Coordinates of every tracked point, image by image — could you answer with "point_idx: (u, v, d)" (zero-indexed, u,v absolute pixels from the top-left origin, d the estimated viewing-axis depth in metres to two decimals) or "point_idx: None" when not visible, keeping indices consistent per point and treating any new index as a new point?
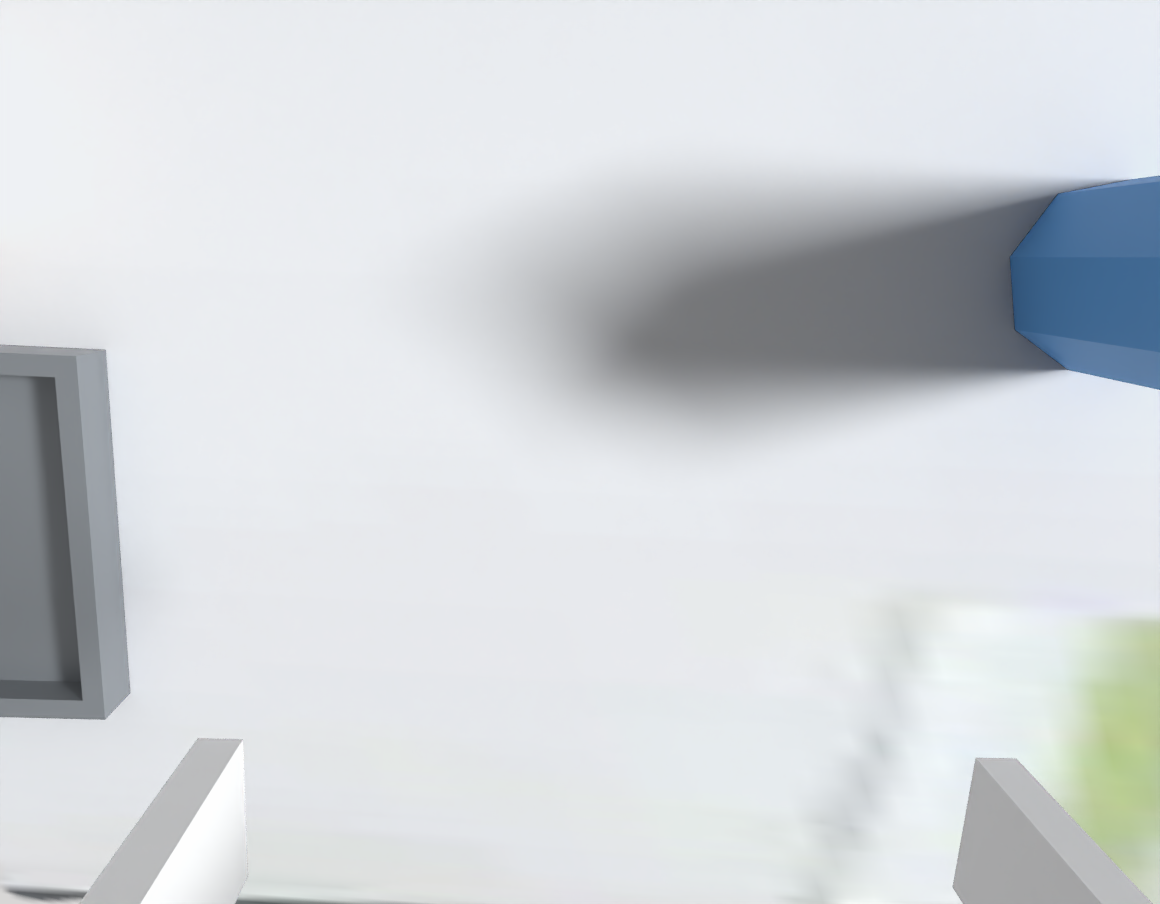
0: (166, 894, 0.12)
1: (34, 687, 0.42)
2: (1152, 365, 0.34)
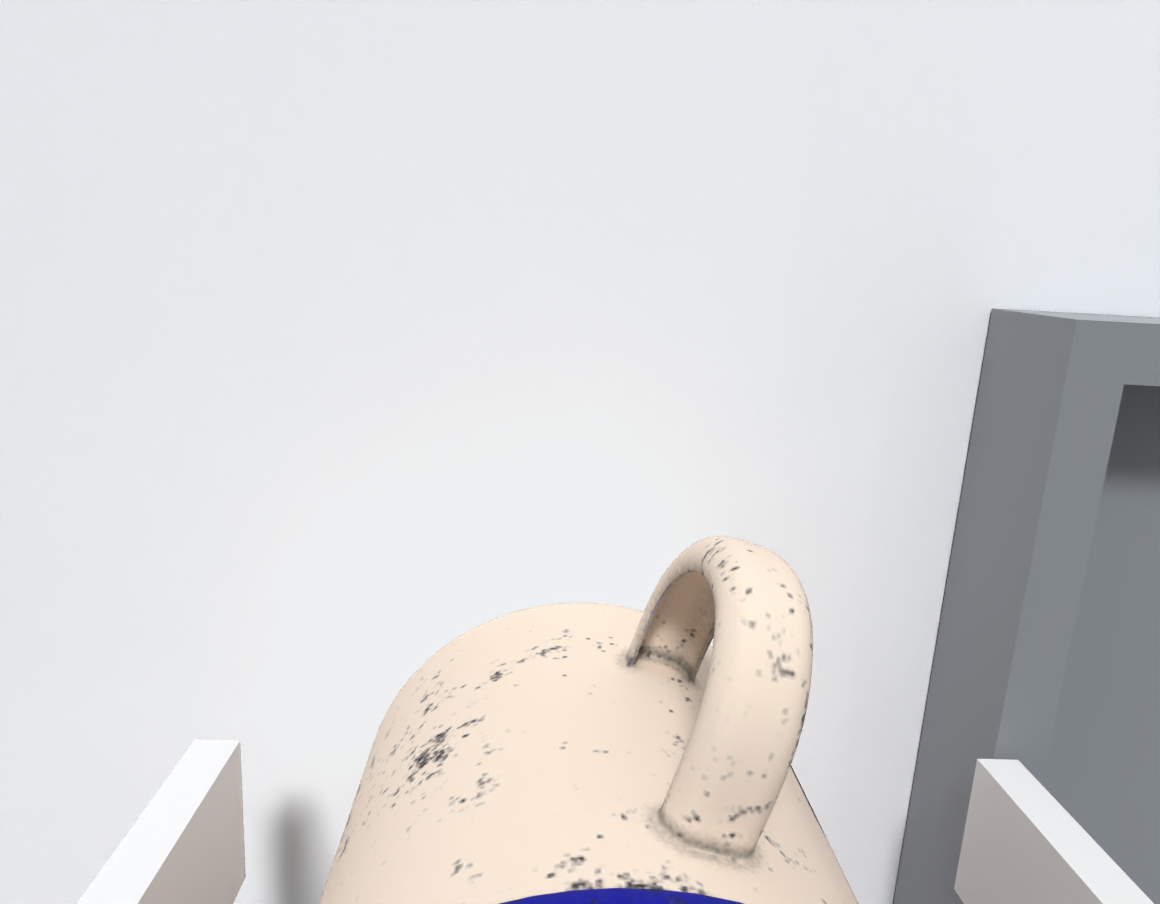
0: (162, 896, 0.12)
1: None
2: None
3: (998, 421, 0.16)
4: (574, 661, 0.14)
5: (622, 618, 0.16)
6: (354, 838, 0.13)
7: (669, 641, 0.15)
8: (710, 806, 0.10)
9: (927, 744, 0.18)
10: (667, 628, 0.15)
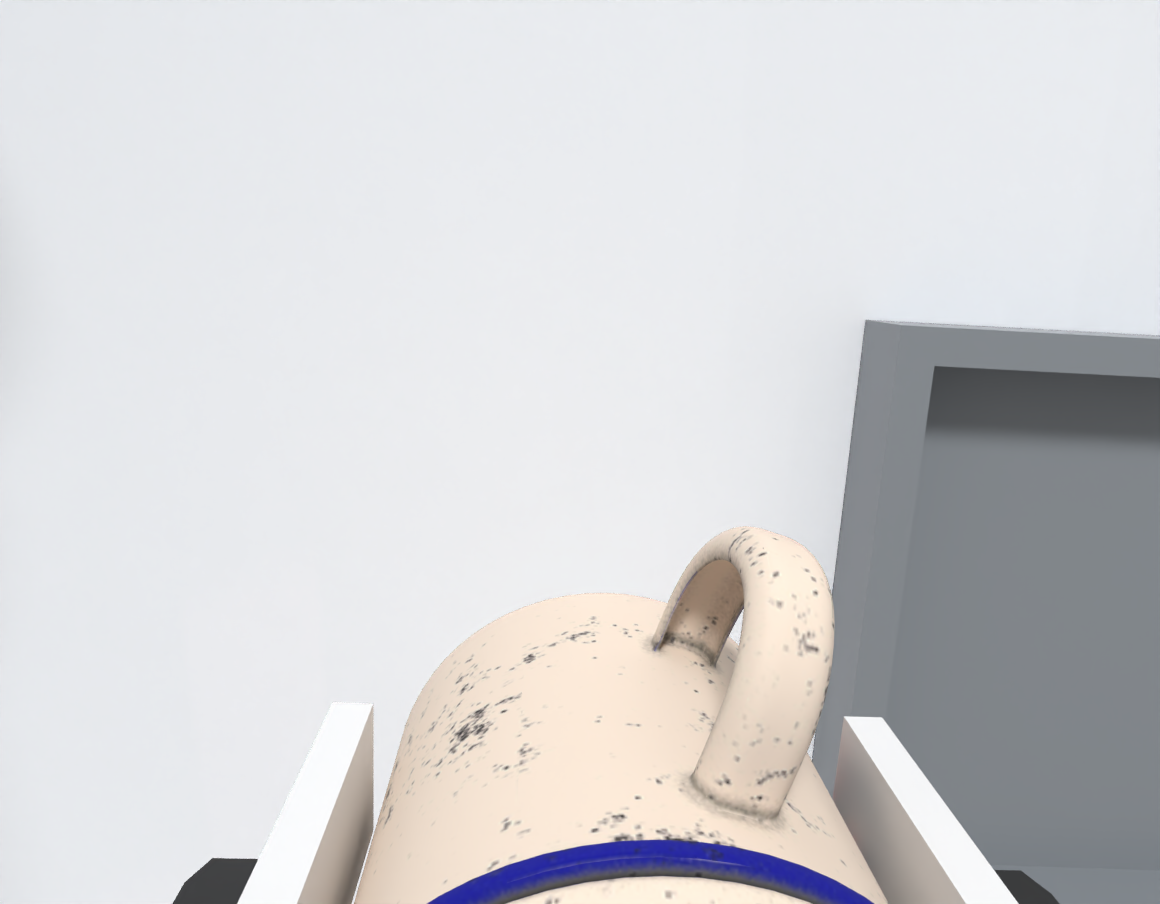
0: (333, 834, 0.13)
1: None
2: None
3: (868, 393, 0.24)
4: (603, 645, 0.15)
5: (645, 608, 0.17)
6: (399, 806, 0.13)
7: (691, 628, 0.16)
8: (740, 770, 0.11)
9: None
10: (690, 616, 0.16)
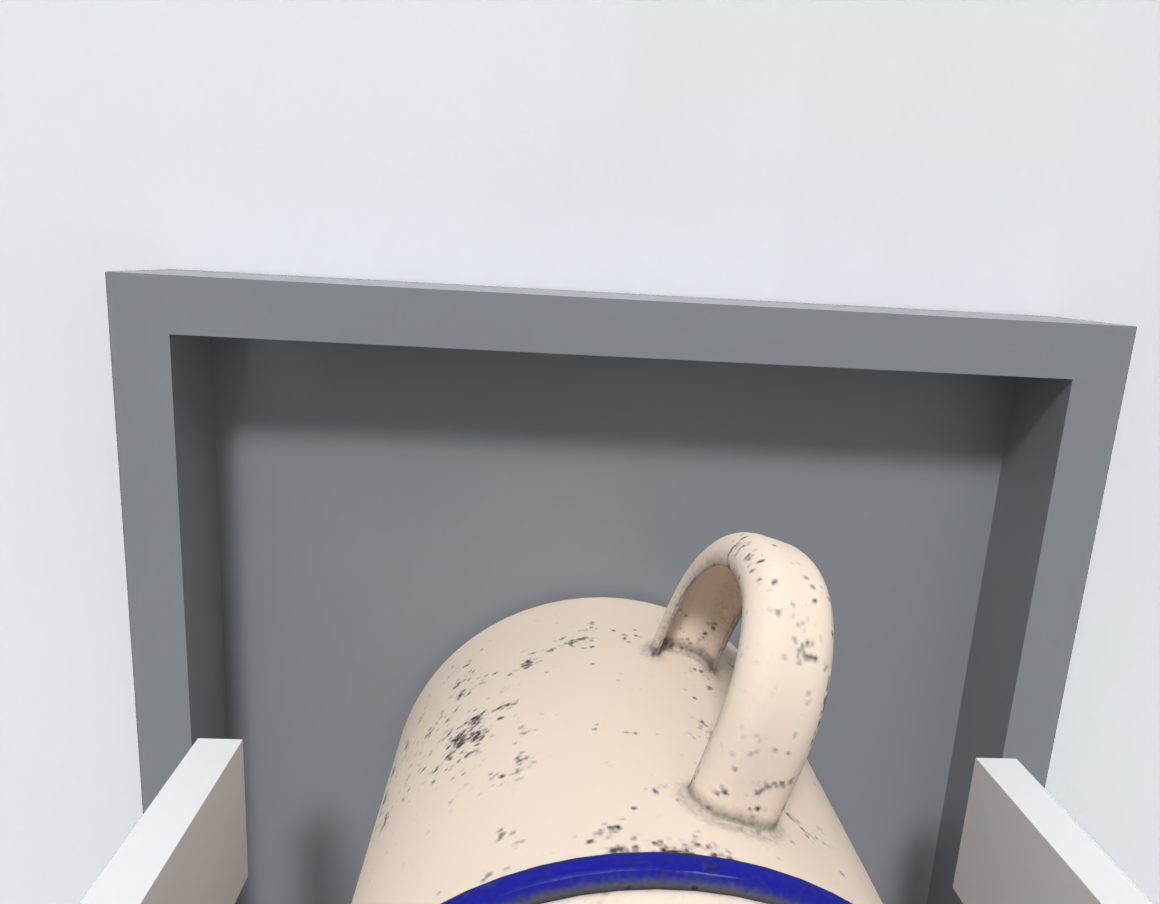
0: (166, 894, 0.12)
1: (1011, 515, 0.17)
2: None
3: None
4: (601, 651, 0.15)
5: (644, 612, 0.17)
6: (394, 813, 0.13)
7: (691, 633, 0.16)
8: (737, 781, 0.11)
9: None
10: (689, 621, 0.15)
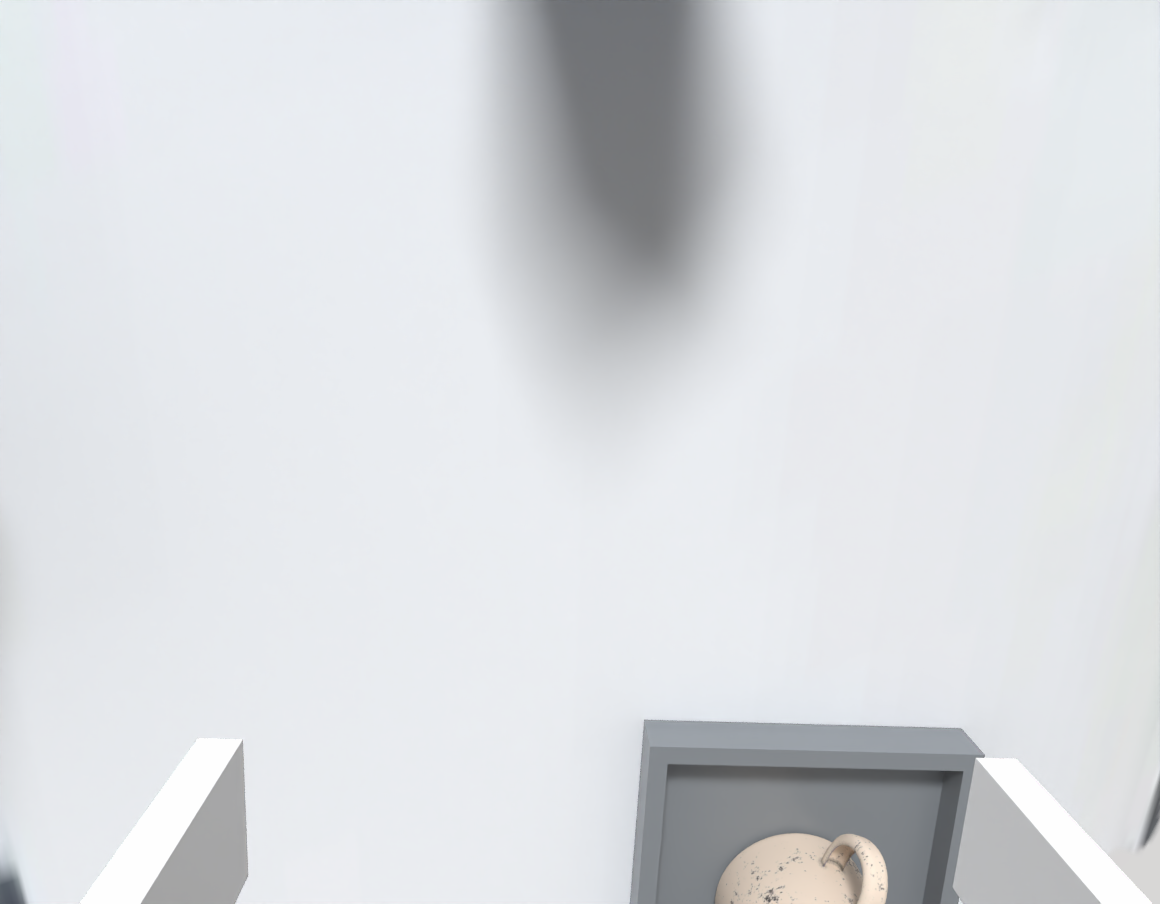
0: (166, 894, 0.12)
1: (945, 806, 0.47)
2: None
3: (643, 761, 0.46)
4: (805, 864, 0.45)
5: (813, 842, 0.47)
6: None
7: (834, 856, 0.45)
8: None
9: (633, 865, 0.48)
10: (833, 852, 0.45)
